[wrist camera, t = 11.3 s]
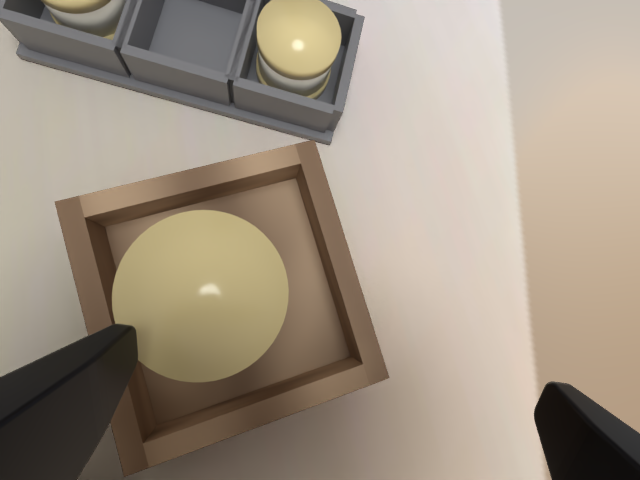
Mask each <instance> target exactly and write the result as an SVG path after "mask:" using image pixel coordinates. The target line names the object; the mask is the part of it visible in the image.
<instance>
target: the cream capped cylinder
mask: <svg viewBox="0 0 640 480" xmlns="http://www.w3.org/2000/svg"><path fill="white" fill-rule="evenodd" d="M288 296H289V288H288V279H287V274H286V270H285V267H284V264H283V262H282V259H281V257H280V255H279V253H278V251H277V250H276V248H275V247H274V245H273V244H272V243H271V241H270V240H269V239H268V238H267V237H266V236H265V235H264V234H263V233H262V232H261V231H260V230H259V229H258V228H256V227H255V226H254V225H252V224H250V223H249V222H247V221H246V220H244V219H241V218H239V217H237V216H235V215H232V214H228V213H225V212H220V211H214V210H194V211H187V212H182V213H179V214H176V215H172V216H170V217H167V218H165V219H163V220H161V221H159V222H157V223H156V224H154V225H153V226H151V227H149V228H148V229H147V230H146V231H145V232H143V233H142V234H141V235H140V236H139V237H138V238H137V239H136V240H135V241H134V242H133V243H132V245H131V246H130V247H129V249H128V250H127V252H126V253H125V255H124V257H123V258H122V260H121V262H120V264H119V267H118V269H117V272H116V275H115V279H114V283H113V290H112V310H113V315H114V321H115V324H116V323H118V324H126V325H132V326H134V327H135V329H136V333H137V346H138V360H139V361H140V362H141V363H143V364H144V365H145V366H146V367H148V368H149V369H151V370H153V371H154V372H156V373H158V374H160V375H163V376H165V377H167V378H171V379H174V380H178V381H184V382H209V381H216V380H220V379H223V378H227V377H229V376H232V375H234V374H236V373H239V372H240V371H242V370H244V369H245V368H247V367H249V366H250V365H251V364H253V363H254V362H255V361H257V360H258V359H259V358H260V357H261V356H262V355H263V354H264V353H265V352H266V351H267V350H268V348H269V347H270V346H271V345H272V343H273V342H274V340H275V338H276V337H277V335H278V333H279V331H280V329H281V327H282V325H283V322H284V319H285V316H286V312H287V306H288Z"/></svg>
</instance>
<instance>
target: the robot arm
mask: <svg viewBox="0 0 640 480" xmlns="http://www.w3.org/2000/svg"><path fill="white" fill-rule="evenodd" d="M137 362H138V346H137V333H136V329H135V327H134V326H132V325H126V324H118V323H116V324H113V325H110V326H108V327H106V328H104V329H102V330H100V331H97V332H95V333H93V334H91V335H89V336H87V337H85V338H83V339H80V340H78V341H76V342H74V343H72V344H70V345H68V346H66V347H63V348H61V349H59V350H57V351H55V352H53V353H51V354H49V355H46V356H44V357H42V358H40V359H38V360H36V361H34V362H32V363H30V364H27V365H25V366H23V367H21V368H19V369H17V370H15V371H13V372H10V373H8V374H6V375H4V376H2V377H0V480H77V478H78V477H79V475H80V473H81V472H82V470H83V468H84V467H85V465H86V463H87V462H88V460H89V458H90V457H91V455H92V454H93V452H94V450H95V449H96V447H97V445H98V444H99V442H100V440H101V438H102V437H103V435H104V433H105V431H106V429H107V427H108V425H109V423H110V421H111V419H112V417H113V415H114V413H115V411H116V408H117V406H118V404H119V402H120V400H121V398H122V396H123V393H124V391H125V389H126V387H127V385H128V383H129V381H130V378H131V376H132V374H133V372H134V370H135V368H136V365H137ZM534 420H535V424H536V427H537V430H538V434H539V437H540V441H541V444H542V448H543V451H544V454H545V458H546V461H547V465H548V468H549V471H550V475H551V478H552V480H640V434H639V433H638V432H637V431H635V430H634V429H632V428H631V427H630V426H628V425H627V424H625V423H624V422H622V421H621V420H620V419H618V418H617V417H616V416H614V415H613V414H611V413H610V412H608V411H607V410H606V409H604V408H603V407H601V406H600V405H599V404H597V403H596V402H594V401H593V400H591V399H590V398H589V397H587V396H586V395H584V394H583V393H582V392H580V391H579V390H577V389H576V388H574V387H573V386H571V385H570V384H567V383H560V382H548V383H547V384H546V385H545V387H544V389H543V392H542V394H541V396H540V398H539V401H538V403H537V405H536V407H535V411H534Z"/></svg>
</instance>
